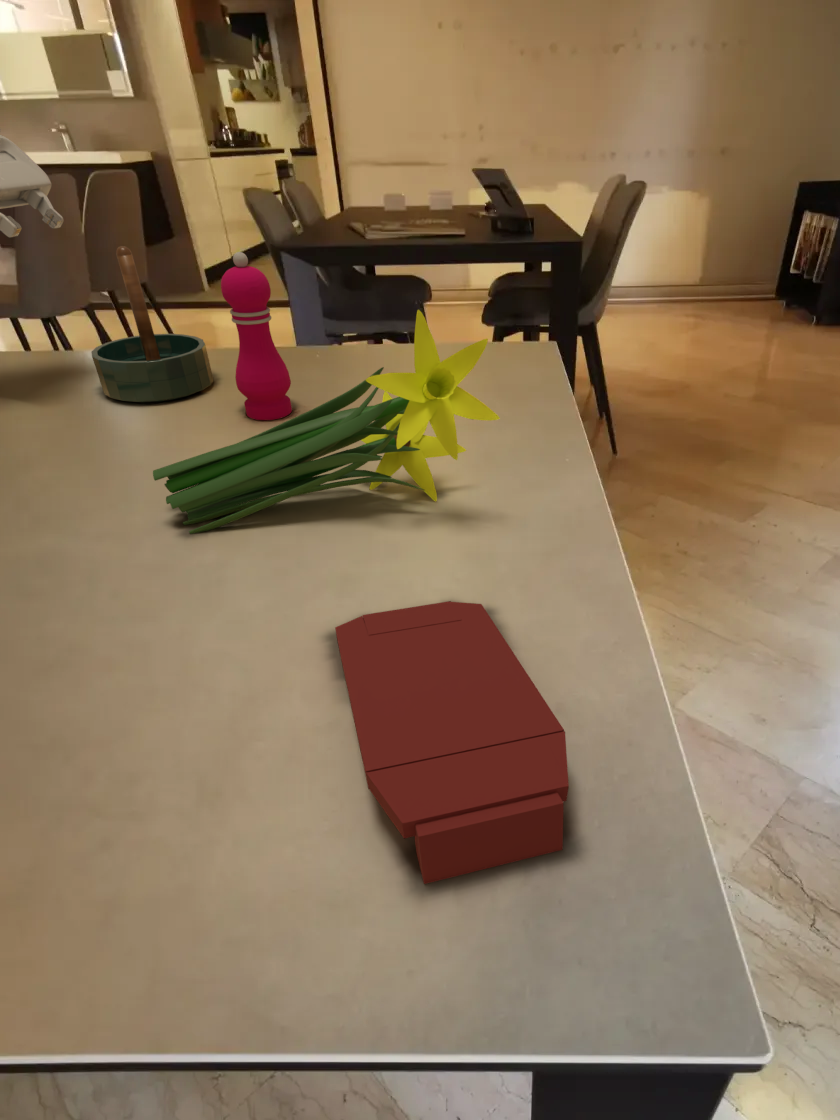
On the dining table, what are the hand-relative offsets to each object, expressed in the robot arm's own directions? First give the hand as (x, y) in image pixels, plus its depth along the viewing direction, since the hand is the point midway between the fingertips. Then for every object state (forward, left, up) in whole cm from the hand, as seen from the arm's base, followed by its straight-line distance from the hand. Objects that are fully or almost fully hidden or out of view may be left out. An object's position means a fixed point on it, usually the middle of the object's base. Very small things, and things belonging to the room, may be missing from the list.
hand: (38, 228), depth 95 cm
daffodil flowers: (+59, -16, -21) cm, 65 cm away
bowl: (+10, +4, -21) cm, 24 cm away
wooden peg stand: (+10, +5, -20) cm, 23 cm away
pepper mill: (+32, +4, -21) cm, 39 cm away
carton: (+86, -37, -21) cm, 96 cm away
